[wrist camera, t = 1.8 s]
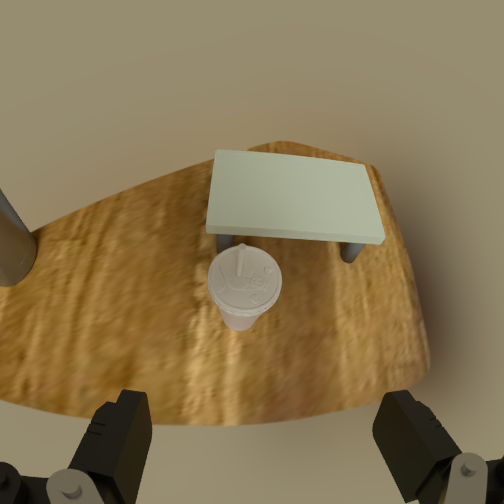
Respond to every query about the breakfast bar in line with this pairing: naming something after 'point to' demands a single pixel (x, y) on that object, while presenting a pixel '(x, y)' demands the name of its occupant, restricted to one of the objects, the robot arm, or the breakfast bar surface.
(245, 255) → the smoothie
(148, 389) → the breakfast bar surface
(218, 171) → the small table
